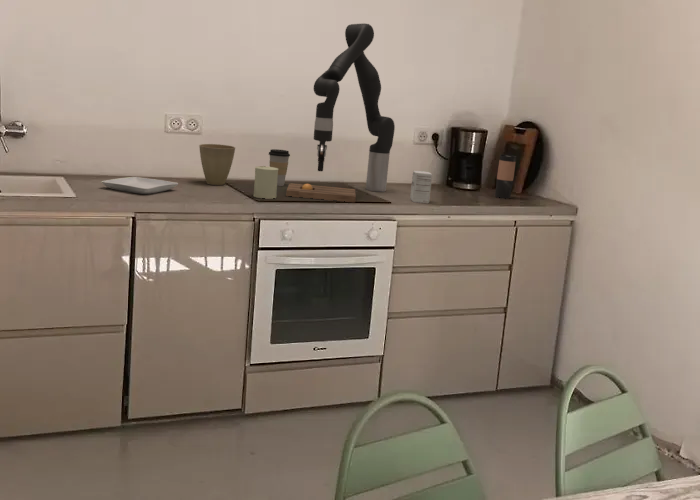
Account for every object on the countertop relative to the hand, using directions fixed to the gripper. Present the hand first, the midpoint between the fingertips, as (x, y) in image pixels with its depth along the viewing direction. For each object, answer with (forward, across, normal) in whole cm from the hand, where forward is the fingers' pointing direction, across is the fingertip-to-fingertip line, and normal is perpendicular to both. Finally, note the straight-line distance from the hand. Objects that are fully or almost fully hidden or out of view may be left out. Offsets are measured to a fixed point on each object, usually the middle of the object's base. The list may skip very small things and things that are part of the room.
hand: (320, 171), depth 329 cm
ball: (+8, 0, +5) cm, 9 cm away
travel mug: (+12, +44, -86) cm, 97 cm away
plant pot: (+10, +6, +44) cm, 45 cm away
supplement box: (+11, +9, -43) cm, 45 cm away
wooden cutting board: (+10, 0, -1) cm, 10 cm away
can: (+10, -16, +21) cm, 28 cm away
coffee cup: (+10, +20, +19) cm, 29 cm away
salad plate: (+10, -25, +68) cm, 73 cm away
